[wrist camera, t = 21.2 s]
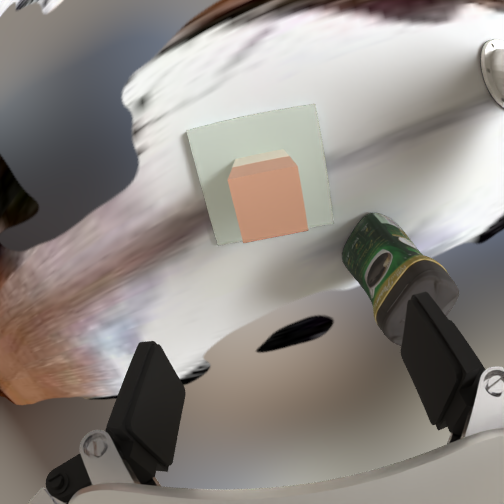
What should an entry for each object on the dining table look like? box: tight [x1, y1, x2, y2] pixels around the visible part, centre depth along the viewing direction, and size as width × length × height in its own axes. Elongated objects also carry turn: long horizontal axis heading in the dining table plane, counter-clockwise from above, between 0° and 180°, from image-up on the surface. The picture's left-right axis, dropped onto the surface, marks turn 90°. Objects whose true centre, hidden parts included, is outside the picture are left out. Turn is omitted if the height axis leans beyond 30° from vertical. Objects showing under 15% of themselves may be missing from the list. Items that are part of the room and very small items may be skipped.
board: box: [187, 104, 334, 246], centre depth 37 cm, size 16×16×1 cm
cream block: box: [232, 149, 289, 167], centre depth 34 cm, size 6×6×6 cm
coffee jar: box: [342, 213, 459, 346], centre depth 33 cm, size 10×8×19 cm
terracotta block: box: [228, 156, 308, 243], centre depth 28 cm, size 6×6×6 cm
